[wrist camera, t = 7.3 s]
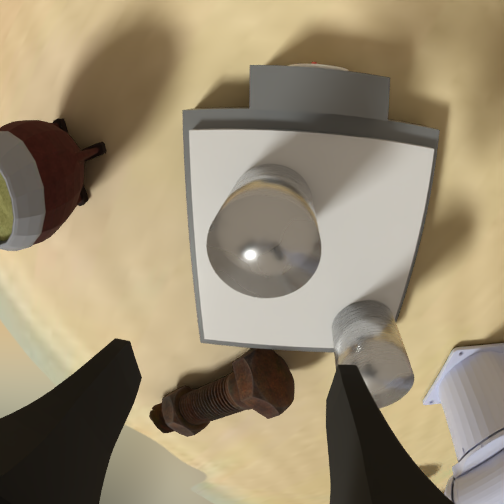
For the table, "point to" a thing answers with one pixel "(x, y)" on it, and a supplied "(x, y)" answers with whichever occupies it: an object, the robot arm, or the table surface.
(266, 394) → the bolt
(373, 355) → the cylinder
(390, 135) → the scale
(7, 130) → the mate gourd
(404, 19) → the table surface
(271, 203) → the cylinder
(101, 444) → the robot arm
